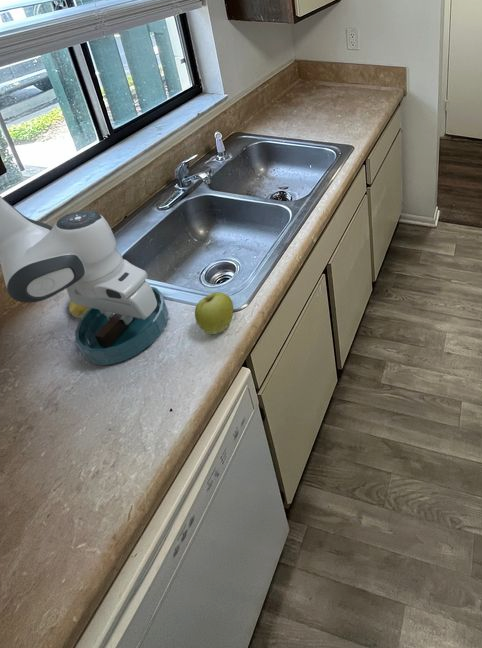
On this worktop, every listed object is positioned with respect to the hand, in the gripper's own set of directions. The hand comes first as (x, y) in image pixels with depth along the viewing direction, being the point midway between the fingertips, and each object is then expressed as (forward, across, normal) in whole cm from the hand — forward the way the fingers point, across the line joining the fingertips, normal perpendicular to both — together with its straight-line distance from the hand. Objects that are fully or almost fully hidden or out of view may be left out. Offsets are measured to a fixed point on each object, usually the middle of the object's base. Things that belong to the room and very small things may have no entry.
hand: (121, 320), depth 100 cm
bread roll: (+3, -13, +4) cm, 14 cm away
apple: (+3, +21, +6) cm, 22 cm away
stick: (+2, 0, 0) cm, 2 cm away
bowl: (+3, +1, 0) cm, 3 cm away
